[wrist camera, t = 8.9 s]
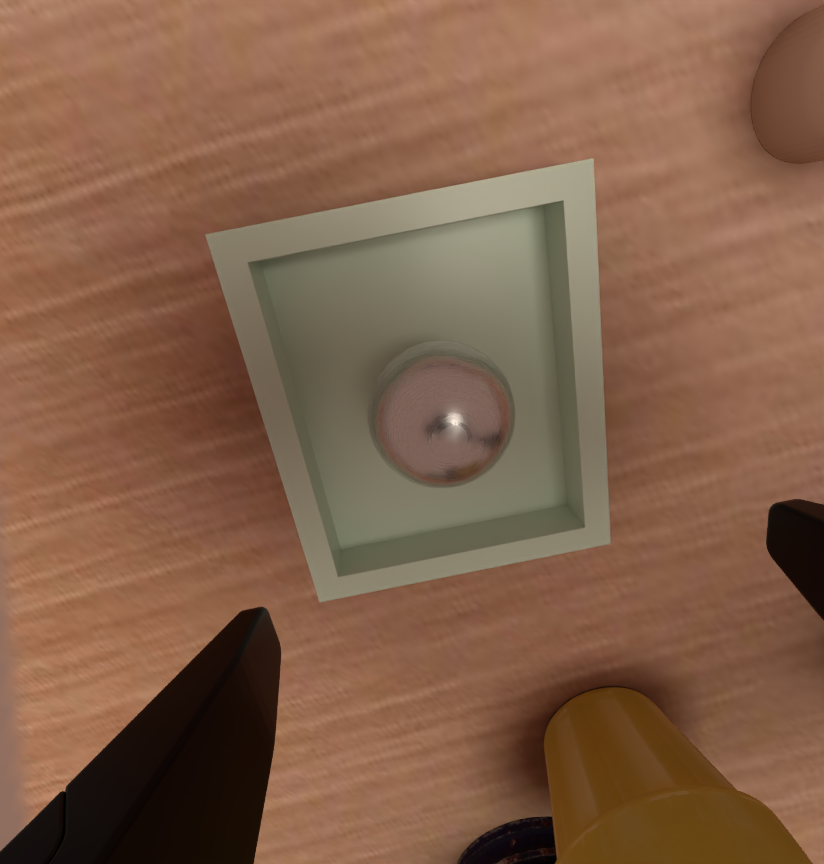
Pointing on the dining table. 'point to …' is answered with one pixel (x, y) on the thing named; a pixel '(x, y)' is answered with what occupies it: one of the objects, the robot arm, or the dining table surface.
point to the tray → (414, 324)
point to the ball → (441, 414)
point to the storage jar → (515, 844)
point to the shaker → (792, 92)
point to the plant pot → (648, 792)
